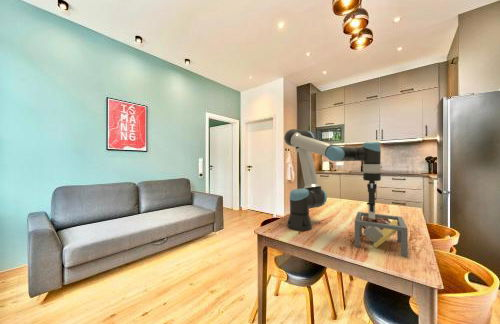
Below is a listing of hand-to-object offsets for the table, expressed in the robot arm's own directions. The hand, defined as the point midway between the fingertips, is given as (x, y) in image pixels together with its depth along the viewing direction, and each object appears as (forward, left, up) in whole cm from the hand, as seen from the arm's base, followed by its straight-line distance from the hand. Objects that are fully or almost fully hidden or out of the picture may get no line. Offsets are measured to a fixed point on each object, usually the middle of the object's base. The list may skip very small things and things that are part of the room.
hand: (372, 215), depth 99 cm
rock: (+2, +24, -14) cm, 28 cm away
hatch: (+6, 0, -8) cm, 10 cm away
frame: (+3, 0, -14) cm, 14 cm away
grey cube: (+3, 0, -11) cm, 11 cm away
